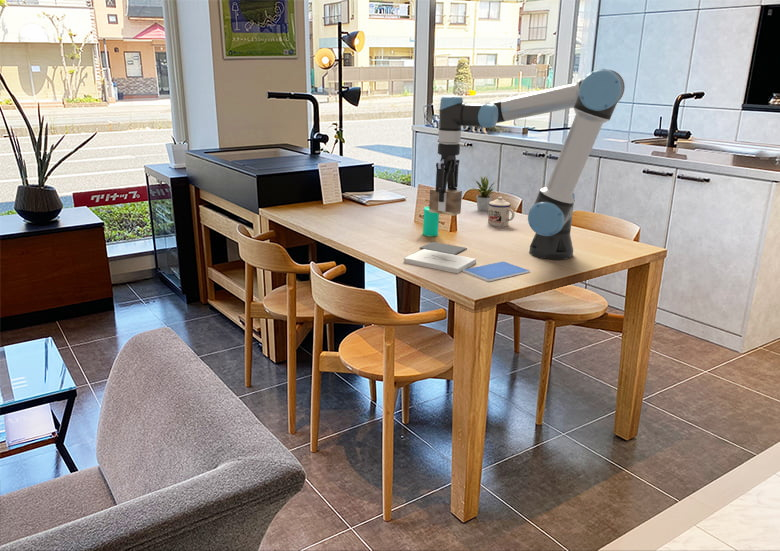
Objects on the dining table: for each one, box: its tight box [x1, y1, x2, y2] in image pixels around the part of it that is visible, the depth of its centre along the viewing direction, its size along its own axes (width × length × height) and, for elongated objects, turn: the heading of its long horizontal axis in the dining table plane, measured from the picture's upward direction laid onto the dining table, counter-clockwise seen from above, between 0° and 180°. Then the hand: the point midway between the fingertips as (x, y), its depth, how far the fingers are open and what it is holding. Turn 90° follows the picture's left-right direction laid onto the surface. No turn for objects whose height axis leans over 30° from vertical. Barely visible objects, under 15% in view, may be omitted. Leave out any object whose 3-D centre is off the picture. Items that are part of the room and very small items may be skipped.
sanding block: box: [428, 187, 463, 217], centre depth 223 cm, size 10×5×8 cm, turn 58°
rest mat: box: [419, 241, 468, 255], centre depth 229 cm, size 14×10×1 cm
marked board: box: [403, 249, 477, 274], centre depth 212 cm, size 20×14×2 cm
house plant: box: [471, 175, 496, 211], centre depth 295 cm, size 14×14×16 cm
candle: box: [422, 205, 440, 237], centre depth 247 cm, size 6×6×12 cm
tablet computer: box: [462, 261, 531, 282], centre depth 205 cm, size 19×13×1 cm, turn 126°
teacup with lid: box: [487, 196, 515, 227], centre depth 266 cm, size 12×9×12 cm
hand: (445, 209), depth 224 cm, fingers closed on sanding block, 5 cm apart
